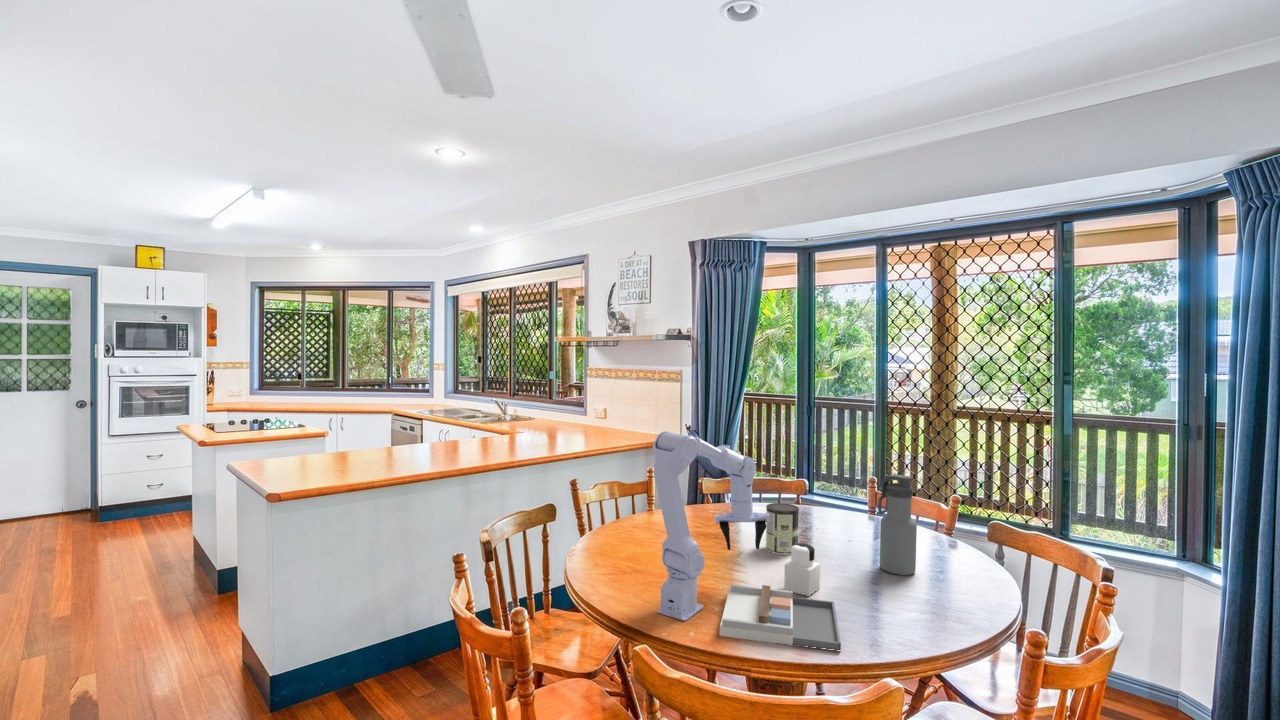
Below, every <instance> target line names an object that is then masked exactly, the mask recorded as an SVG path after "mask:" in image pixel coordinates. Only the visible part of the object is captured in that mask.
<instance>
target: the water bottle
mask: <svg viewBox="0 0 1280 720" xmlns="http://www.w3.org/2000/svg"><path fill="white" fill-rule="evenodd" d="M890 481H898V482H893V483H889V482H890ZM912 482H913V477H912V476H909V475H903V474H895V473H894V474H890V475H887V476H885V477H883V478H882V479H881V481H880V482H879V488H878V489H879V490H880V491H881V494H880V497H879V498H878V508H877V509H878V510H877V511H878V514H880V515H882V514H885V513H886V515H883V516H882V518H881V519H880V542H879V567H880V569H881V570H883V571H884V570H885V572H886V571H887V572H886V573H888V572H890V573H889V574H891V573H893V574H892V575H895V574H900V575H899V576H903V575H904V576H910V574H911V575H913V574H915V572H916V567H917V566H916V565H917V562H916V561H917V535H918V534H917V528H918V525H917V524H918V523H917V522H916V521H915V520H914V519H913V518H912V499H913V492H914V490H913V489H914V488H913V487H912ZM883 499H885V500H886V501H885V508H884V509H883V510H882V501H883Z"/></svg>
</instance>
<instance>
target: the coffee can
mask: <svg viewBox="0 0 1280 720" xmlns="http://www.w3.org/2000/svg"><path fill="white" fill-rule="evenodd" d="M799 511H800V507H799V506H797V505H795V504H792V503H785V502H772V503H769V504H766V513H769V515H770V523H766V529H765V533H766V534H765V535H766V536H765V537H766V539H765V550H766V551H767V552H768V553H770V554H773V555H776V556H777V555H778V556H791V547H792V546H793V545H794V544H798V543H799V514H800V513H799Z"/></svg>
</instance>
